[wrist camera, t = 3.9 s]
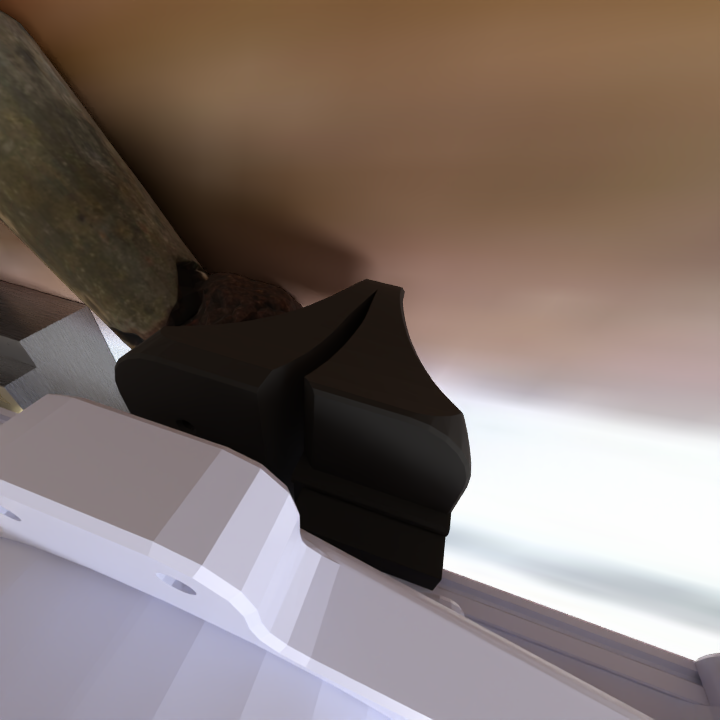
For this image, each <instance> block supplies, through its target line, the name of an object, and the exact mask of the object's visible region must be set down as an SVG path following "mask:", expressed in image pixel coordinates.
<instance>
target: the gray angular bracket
mask: <svg viewBox="0 0 720 720" xmlns="http://www.w3.org/2000/svg"><path fill="white" fill-rule="evenodd" d="M115 365H116V362H115V360H114V358H113V356H112V354H111V352H110V350H109V348H108V346H107V344H106V342H105V340H104V338H103V336H102V334H101V332H100V330H99V327H98V325H97V323H96V321H95V319H94V317H93V315H92V313H91V311H90V309H89V307H88V306H87V305H84V304H80V303H77V302H73V301H70V300H66V299H63V298H59V297H56V296H53V295H49V294H46V293H42V292H39V291H35V290H32V289H28V288H25V287H21V286H18V285H14V284H11V283H7V282H4V281H0V407H2V408H5V409H8V410H10V411H13V412H16V413H20V412H21V411H23V410H24V409H26V408H27V407H29V406H30V405H32V404H33V403H35V402H36V401H38V400H39V399H41V398H42V397H44V396H45V395H47V394H61V395H68V396H75V397H82V398H86V399H89V400H92V401H95V402H97V403H100V404H103V405H106V406H109V407H112V408H115V409H118V410H121V411H124V412H127V413H129V414H130V412H129V410H128V408H127V406H126V404H125V402H124V400H123V398H122V396H121V395H120V393H119V390H118V387H117V385H116V382H115Z"/></svg>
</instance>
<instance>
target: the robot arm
mask: <svg viewBox="0 0 720 720" xmlns="http://www.w3.org/2000/svg"><path fill="white" fill-rule="evenodd" d="M404 293H405V291H404V290H403V288H402V287H398V286H393V285H389V284H385V283H381V282H377V281H373V280H368V279H365V280H363V281H361V282H359V283H357V284H355V285H353V286H351V287H349V288H347V289H345V290H343V291H341V292H339V293H337V294H335V295H333V296H331V297H328V298H326V299H323V300H321V301H319V302H316V303H314V304H311V305H309V306H306V307H303V308H300V309H297V310H294V311H290V312H287V313H284V314H280V315H275V316H270V317H265V318H260V319H255V320H250V321H243V322H236V323H226V324H216V325H197V326H164V327H163V328H161V329H160V330H159V331H157V332H156V333H154V334H153V335H152V336H150V337H149V338H147V339H146V340H144V341H143V342H142V343H140V344H139V345H137V346H136V347H135V348H133V349H132V350H130V351H129V352H128V353H126V354H125V355H123V356H122V357H121V358H119V359H118V361H117V363H116V365H115V382H116V385H117V387H118V390H119V393H120V395H121V396H122V398H123V400H124V402H125V404H126V406H127V408H128V410H129V412H130V414H129V413H127V412H124V411H121V410H118V409H115V408H112V407H109V406H106V405H103V404H100V403H97V402H95V401H92V400H89V399H86V398H82V397H75V396H68V395H61V394H47V395H45V396H44V397H42V398H41V399H39V400H38V401H36V402H35V403H33V404H32V405H30V406H29V407H27V408H26V409H24V410H23V411H21V412H20V413H16V412H13V411H10V410H8V409H5V408H2V407H0V720H720V653H714V654H710V655H706V656H703V657H701V658H699V659H697V660H696V661H693V660H691V659H688V658H685V657H683V656H680V655H677V654H674V653H672V652H669V651H666V650H663V649H661V648H658V647H655V646H653V645H650V644H647V643H644V642H642V641H639V640H636V639H633V638H631V637H628V636H625V635H622V634H620V633H617V632H614V631H612V630H609V629H606V628H603V627H601V626H598V625H595V624H592V623H590V622H587V621H584V620H581V619H579V618H576V617H573V616H571V615H568V614H565V613H562V612H560V611H557V610H554V609H551V608H549V607H546V606H543V605H540V604H538V603H535V602H532V601H530V600H527V599H524V598H521V597H519V596H516V595H513V594H510V593H508V592H505V591H502V590H499V589H497V588H494V587H491V586H489V585H486V584H483V583H480V582H478V581H475V580H472V579H469V578H467V577H464V576H461V575H458V574H456V573H453V572H450V571H448V570H445V569H443V558H444V547H445V536H446V537H447V535H448V534H449V530H450V520H451V512H452V510H453V509H454V507H455V505H456V504H457V502H458V501H459V499H460V497H461V496H462V494H463V493H464V491H465V489H466V488H467V486H468V483H469V480H470V477H471V455H470V446H469V440H468V433H467V428H466V424H465V419H464V415H463V413H462V412H461V411H460V410H459V409H458V408H457V407H456V406H455V405H454V404H453V403H452V402H451V401H450V400H449V399H448V398H447V397H446V396H445V395H444V394H443V393H442V391H441V390H440V389H439V388H438V387H437V385H436V384H435V383H434V382H433V380H432V379H431V377H430V376H429V374H428V373H427V371H426V370H425V368H424V367H423V365H422V363H421V361H420V360H419V358H418V356H417V354H416V351H415V349H414V347H413V345H412V342H411V339H410V336H409V333H408V330H407V326H406V322H405V317H404V311H403V298H404Z"/></svg>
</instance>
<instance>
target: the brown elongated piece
mask: <svg viewBox="0 0 720 720" xmlns="http://www.w3.org/2000/svg"><path fill="white" fill-rule="evenodd" d="M0 219H1V220H2V221H3V222H4V223H5V224H6V225H7V226H8V227H9V228H10V229H11V230H12V231H13V232H14V233H15V234H16V235H17V236H18V237H19V238H20V239H21V240H22V241H23V242H24V243H25V244H26V245H27V246H28V247H29V248H30V249H31V250H32V251H33V253H34V254H35V255H36V256H37V257H38V258H39V259H40V260H41V261H42V262H43V263H44V264H45V265H46V266H47V267H48V268H49V269H50V270H51V271H52V272H53V273H54V274H55V275H56V276H57V277H58V278H59V279H60V280H61V281H62V282H63V283H64V284H65V285H66V286H67V287H68V288H69V289H70V290H71V291H72V292H73V293H74V294H75V295H76V296H77V297H78V298H79V299H80V300H81V301H82V302H84V303H85V304H86V305H87V306H88V307H89V308H90V309H91V310H92V311H93V312H94V313H95V314H96V315H97V316H98V317H99V318H100V319H101V320H102V321H103V322H104V323H105V324H106V325H107V326H108V327H109V328H110V329H111V330H112V331H113V332H114V333H115V334H116V335H117V336H118V337H119V338H120V339H121V340H122V341H123V342H124V343H125V344H126V345H127V346H129V347H130V348H131V349H133V348H135V347H136V346H137V345H139V344H140V343H142V342H143V341H144V340H146V339H147V338H149V337H150V336H152V335H153V334H154V333H156V332H157V331H159V330H160V329H161V328H163V327H164V326H197V325H216V324H226V323H236V322H243V321H250V320H255V319H260V318H265V317H270V316H275V315H280V314H284V313H287V312H290V311H294V310H297V309H300V308H302V306H301V305H300V304H299V303H297V302H296V301H294V299H293V298H292V297H291V296H290V295H289V294H288V293H287V292H286V291H284V290H283V289H281V288H278V287H275V286H273V285H269V284H266V283H264V282H259V281H254V280H251V279H248V278H245V277H243V276H240V275H237V274H232V273H215V274H212V275H208V274H207V273H206V272H205V270H204V269H203V268H202V266H201V265H200V264H199V262H198V261H197V260H196V258H195V257H194V256H193V255H192V253H191V252H190V251H189V249H188V248H187V247H186V245H185V244H184V243H183V241H182V240H181V239H180V237H179V236H178V235H177V233H176V232H175V230H174V229H173V228H172V226H171V225H170V223H169V222H168V221H167V219H166V218H165V216H164V215H163V214H162V212H161V211H160V209H159V208H158V207H157V205H156V204H155V202H154V201H153V200H152V198H151V197H150V195H149V194H148V193H147V191H146V190H145V189H144V187H143V186H142V184H141V183H140V182H139V180H138V179H137V178H136V176H135V175H134V174H133V172H132V171H131V170H130V168H129V167H128V166H127V164H126V163H125V162H124V161H123V159H122V158H121V157H120V155H119V154H118V153H117V152H116V150H115V149H114V147H113V146H112V145H111V143H110V142H109V141H108V139H107V138H106V136H105V135H104V134H103V132H102V131H101V130H100V128H99V127H98V126H97V124H96V123H95V121H94V120H93V119H92V117H91V116H90V115H89V113H88V112H87V111H86V109H85V108H84V106H83V105H82V104H81V102H80V101H79V100H78V98H77V97H76V96H75V94H74V93H73V92H72V90H71V89H70V87H69V86H68V85H67V83H66V82H65V81H64V79H63V78H62V77H61V75H60V74H59V73H58V71H57V70H56V69H55V67H54V66H53V65H52V63H51V62H50V61H49V59H48V58H47V57H46V55H45V54H44V53H43V51H42V50H41V49H40V47H39V46H38V45H37V43H36V42H35V41H34V39H33V38H32V37H31V36H30V34H29V33H28V32H27V31H26V30H25V29H24V27H23V26H22V25H21V24H20V23H19V22H17V21H16V20H15V19H13V18H12V17H10V16H9V15H7V14H5V13H4V12H2V11H0Z"/></svg>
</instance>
